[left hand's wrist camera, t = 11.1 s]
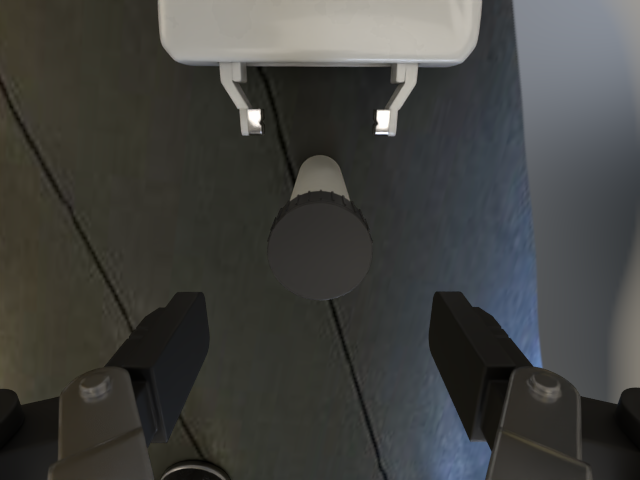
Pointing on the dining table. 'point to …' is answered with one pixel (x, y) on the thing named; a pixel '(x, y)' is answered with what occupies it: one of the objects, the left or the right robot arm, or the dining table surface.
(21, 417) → the left robot arm
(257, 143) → the dining table surface
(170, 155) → the dining table surface
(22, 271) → the dining table surface
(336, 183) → the jar
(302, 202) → the lid
